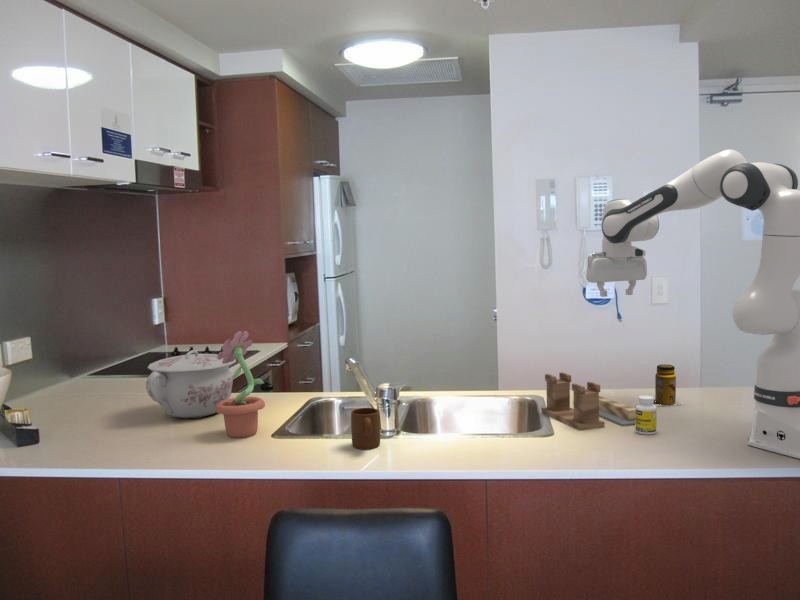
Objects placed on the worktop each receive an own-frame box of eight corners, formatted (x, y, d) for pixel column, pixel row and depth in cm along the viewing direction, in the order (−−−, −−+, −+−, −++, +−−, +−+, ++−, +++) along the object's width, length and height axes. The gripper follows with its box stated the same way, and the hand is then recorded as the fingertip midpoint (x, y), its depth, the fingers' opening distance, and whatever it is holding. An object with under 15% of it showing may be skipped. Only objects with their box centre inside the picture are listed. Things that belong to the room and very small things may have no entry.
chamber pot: (234, 399, 248) (231, 340, 246) (243, 418, 222) (239, 353, 220) (149, 408, 240) (145, 347, 238) (148, 429, 214) (143, 361, 212)
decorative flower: (246, 424, 216) (240, 326, 213) (279, 430, 208) (273, 328, 205) (206, 437, 203) (200, 332, 200) (240, 444, 195) (233, 335, 192)
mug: (384, 453, 183) (383, 418, 182) (354, 456, 182) (353, 420, 181) (378, 440, 195) (377, 406, 194) (350, 442, 194) (349, 408, 193)
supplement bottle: (632, 432, 195) (632, 397, 194) (640, 428, 199) (640, 393, 198) (651, 436, 191) (651, 400, 190) (659, 431, 195) (659, 396, 194)
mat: (652, 422, 204) (652, 420, 204) (622, 426, 201) (622, 424, 201) (603, 403, 227) (603, 401, 227) (575, 407, 224) (575, 405, 224)
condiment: (681, 405, 223) (681, 367, 222) (655, 406, 222) (655, 368, 220) (669, 399, 230) (669, 362, 229) (644, 401, 229) (644, 364, 228)
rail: (637, 419, 205) (637, 409, 205) (629, 421, 204) (629, 410, 204) (597, 404, 224) (597, 395, 224) (589, 405, 223) (589, 396, 223)
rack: (604, 427, 201) (604, 385, 200) (579, 430, 199) (579, 387, 197) (564, 409, 221) (564, 371, 220) (541, 412, 218) (541, 374, 217)
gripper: (593, 253, 218) (593, 298, 219) (650, 250, 224) (649, 294, 225) (582, 252, 224) (582, 296, 225) (637, 250, 230) (637, 293, 231)
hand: (616, 295), depth 225 cm, fingers open, 8 cm apart
